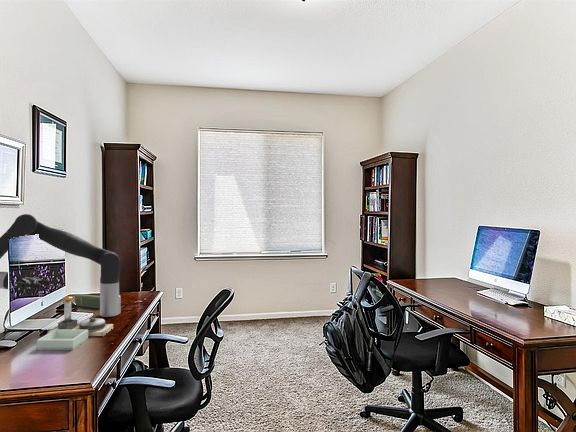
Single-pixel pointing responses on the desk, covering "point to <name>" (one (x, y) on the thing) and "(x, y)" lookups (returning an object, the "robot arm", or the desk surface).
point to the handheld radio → (87, 300)
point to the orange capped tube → (67, 309)
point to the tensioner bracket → (86, 326)
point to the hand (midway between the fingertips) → (45, 284)
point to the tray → (62, 340)
